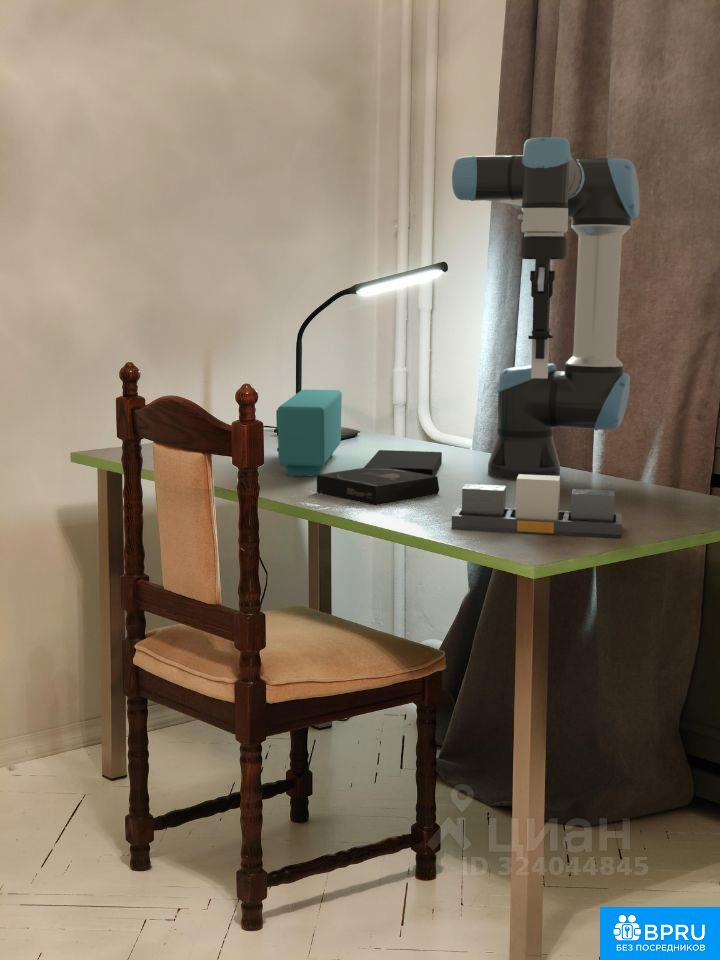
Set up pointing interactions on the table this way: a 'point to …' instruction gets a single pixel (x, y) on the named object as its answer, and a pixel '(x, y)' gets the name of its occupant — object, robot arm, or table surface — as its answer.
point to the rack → (585, 519)
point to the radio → (308, 430)
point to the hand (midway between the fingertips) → (539, 377)
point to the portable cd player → (377, 485)
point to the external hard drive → (408, 461)
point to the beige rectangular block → (537, 497)
